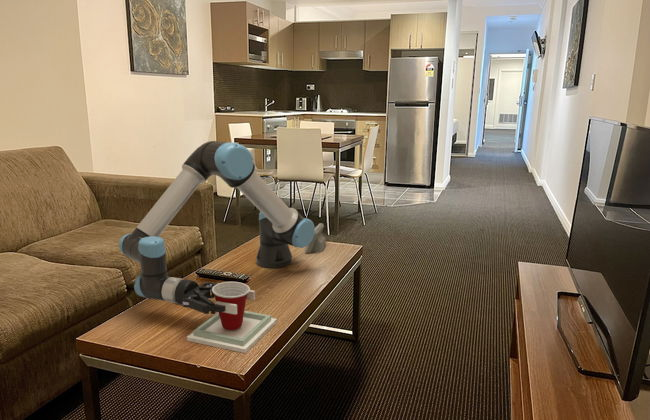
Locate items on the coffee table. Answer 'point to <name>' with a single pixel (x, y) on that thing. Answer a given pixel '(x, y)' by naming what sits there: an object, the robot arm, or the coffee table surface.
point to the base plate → (233, 332)
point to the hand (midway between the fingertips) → (245, 302)
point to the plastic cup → (233, 295)
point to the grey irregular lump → (317, 241)
